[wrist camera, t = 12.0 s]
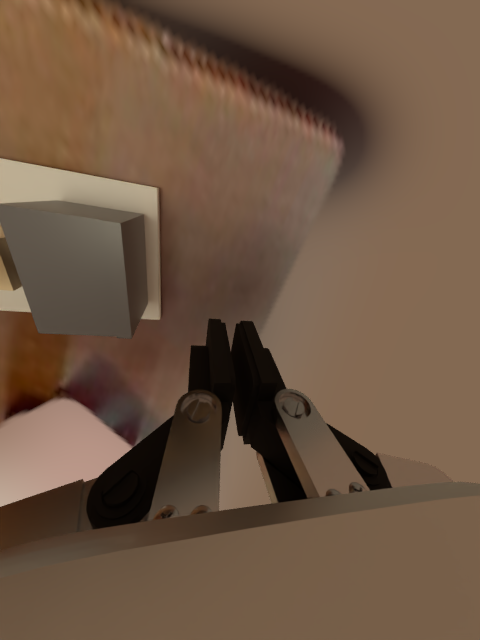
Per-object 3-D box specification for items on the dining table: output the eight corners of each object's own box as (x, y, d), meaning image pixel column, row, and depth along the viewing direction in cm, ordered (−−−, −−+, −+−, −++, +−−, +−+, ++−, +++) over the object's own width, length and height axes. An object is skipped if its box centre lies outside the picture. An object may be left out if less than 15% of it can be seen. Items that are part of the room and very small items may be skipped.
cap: (148, 303, 21) (131, 338, 16) (78, 298, 20) (36, 334, 15) (143, 214, 17) (120, 223, 12) (57, 200, 16) (-10, 203, 11)
